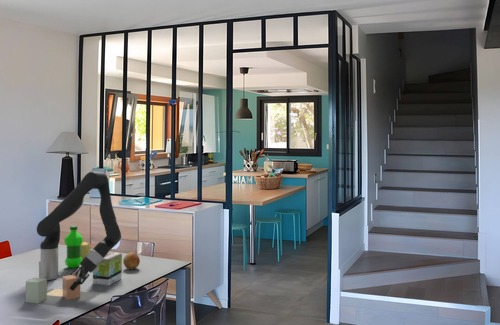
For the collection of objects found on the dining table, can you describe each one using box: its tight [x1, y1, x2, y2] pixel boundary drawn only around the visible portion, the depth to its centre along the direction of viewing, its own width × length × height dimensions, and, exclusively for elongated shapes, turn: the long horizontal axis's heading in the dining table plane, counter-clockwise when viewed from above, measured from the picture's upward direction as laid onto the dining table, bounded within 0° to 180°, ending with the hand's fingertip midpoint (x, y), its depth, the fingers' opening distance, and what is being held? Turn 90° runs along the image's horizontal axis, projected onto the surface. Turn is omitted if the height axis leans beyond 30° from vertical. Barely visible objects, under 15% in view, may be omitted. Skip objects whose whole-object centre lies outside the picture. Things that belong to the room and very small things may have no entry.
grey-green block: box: [25, 277, 48, 304], centre depth 237 cm, size 7×7×10 cm
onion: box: [122, 252, 141, 270], centre depth 297 cm, size 10×10×10 cm
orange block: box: [62, 274, 81, 300], centre depth 242 cm, size 7×7×10 cm
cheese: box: [81, 241, 92, 260], centre depth 321 cm, size 10×11×10 cm
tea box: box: [92, 251, 123, 286], centre depth 271 cm, size 15×10×15 cm
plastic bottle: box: [64, 225, 84, 269], centre depth 299 cm, size 10×10×25 cm
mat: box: [24, 288, 102, 309], centre depth 241 cm, size 28×22×1 cm
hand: (68, 287), depth 242 cm, fingers open, 7 cm apart
